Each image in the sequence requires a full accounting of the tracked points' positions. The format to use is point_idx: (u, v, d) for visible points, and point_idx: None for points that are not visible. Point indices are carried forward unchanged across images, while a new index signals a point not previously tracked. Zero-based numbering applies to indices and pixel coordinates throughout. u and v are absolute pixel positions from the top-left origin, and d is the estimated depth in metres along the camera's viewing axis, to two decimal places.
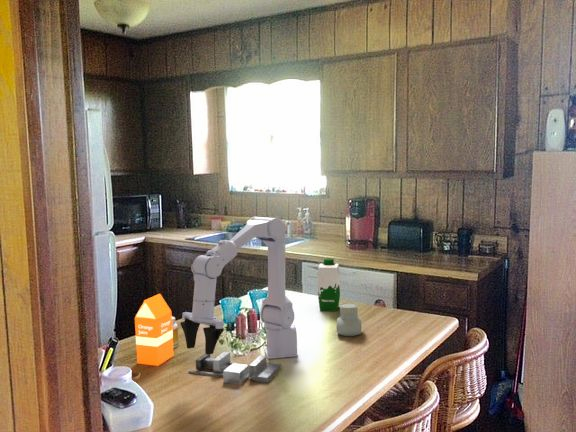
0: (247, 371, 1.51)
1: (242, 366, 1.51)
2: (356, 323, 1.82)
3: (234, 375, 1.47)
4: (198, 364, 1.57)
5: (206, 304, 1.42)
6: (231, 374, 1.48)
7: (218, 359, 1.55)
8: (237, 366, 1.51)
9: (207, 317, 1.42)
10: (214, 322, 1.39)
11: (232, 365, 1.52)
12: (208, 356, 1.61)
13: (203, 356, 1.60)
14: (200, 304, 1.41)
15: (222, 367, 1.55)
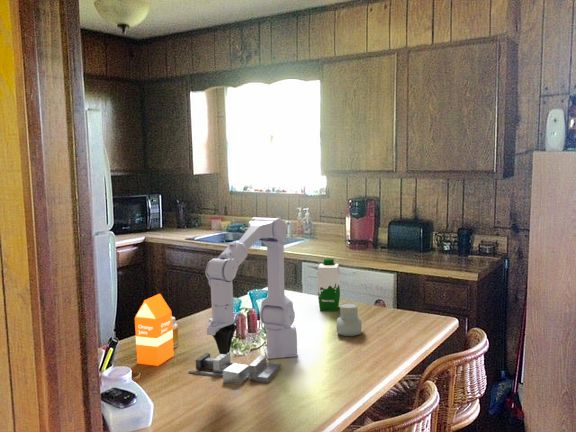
0: (247, 371, 1.51)
1: (242, 366, 1.51)
2: (356, 323, 1.82)
3: (233, 375, 1.47)
4: (198, 364, 1.57)
5: (213, 308, 1.40)
6: (231, 374, 1.48)
7: (218, 359, 1.55)
8: (237, 366, 1.51)
9: (215, 321, 1.40)
10: None
11: (233, 365, 1.52)
12: (208, 356, 1.61)
13: (203, 356, 1.60)
14: None
15: (222, 367, 1.55)
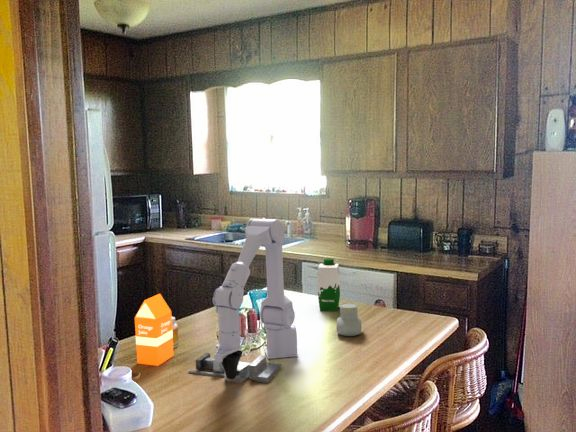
0: (248, 369, 1.52)
1: (244, 364, 1.52)
2: (356, 323, 1.82)
3: None
4: (198, 364, 1.57)
5: (220, 335, 1.44)
6: None
7: None
8: (239, 364, 1.52)
9: (222, 347, 1.44)
10: None
11: None
12: (208, 356, 1.61)
13: (203, 356, 1.60)
14: None
15: (222, 367, 1.55)
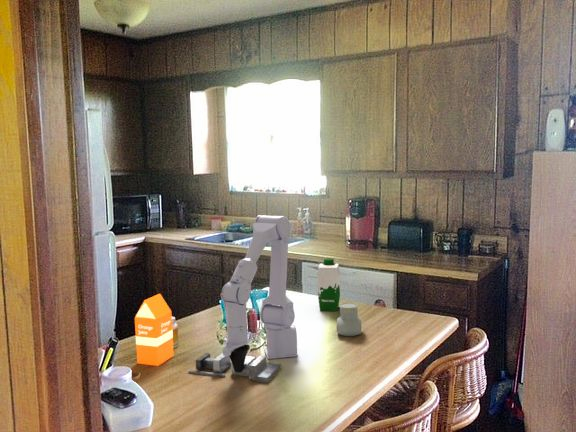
0: None
1: (249, 358, 1.57)
2: (356, 323, 1.82)
3: None
4: (198, 364, 1.57)
5: (228, 329, 1.49)
6: None
7: (218, 359, 1.55)
8: None
9: (230, 341, 1.49)
10: None
11: None
12: (208, 356, 1.61)
13: (203, 356, 1.60)
14: None
15: (222, 367, 1.55)
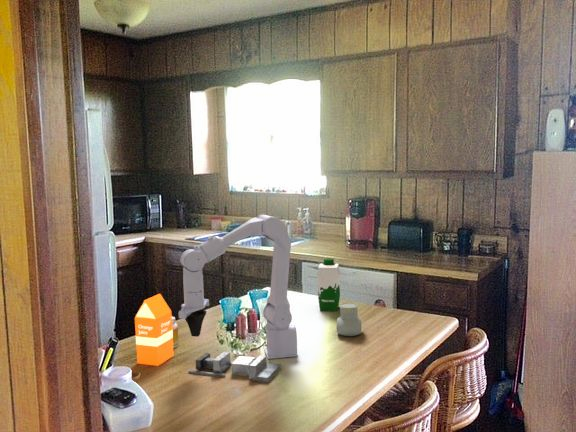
0: None
1: (249, 359, 1.57)
2: (356, 323, 1.82)
3: (243, 367, 1.53)
4: (198, 364, 1.57)
5: (185, 294, 1.55)
6: (240, 366, 1.53)
7: (218, 359, 1.55)
8: (244, 359, 1.57)
9: (187, 306, 1.55)
10: None
11: (239, 358, 1.58)
12: (208, 356, 1.61)
13: (203, 356, 1.60)
14: None
15: (222, 367, 1.55)
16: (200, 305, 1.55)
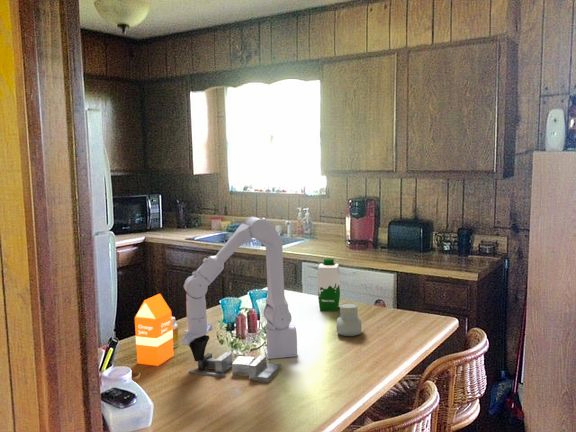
0: None
1: (249, 358, 1.57)
2: (356, 323, 1.82)
3: (243, 367, 1.53)
4: (200, 364, 1.57)
5: (188, 320, 1.57)
6: (240, 366, 1.53)
7: (220, 359, 1.54)
8: (244, 359, 1.57)
9: (190, 332, 1.57)
10: None
11: (239, 358, 1.57)
12: (210, 356, 1.61)
13: (205, 356, 1.59)
14: (187, 319, 1.58)
15: (224, 367, 1.55)
16: (203, 331, 1.57)
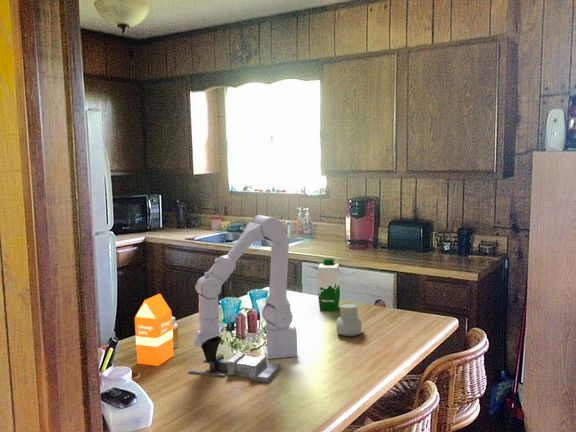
0: None
1: (253, 359, 1.56)
2: (356, 323, 1.82)
3: (246, 367, 1.52)
4: (212, 366, 1.55)
5: (201, 321, 1.56)
6: (243, 366, 1.52)
7: (232, 361, 1.53)
8: (248, 359, 1.56)
9: (202, 333, 1.55)
10: None
11: (243, 358, 1.57)
12: (221, 358, 1.60)
13: (217, 358, 1.58)
14: (199, 320, 1.57)
15: None
16: (215, 332, 1.56)
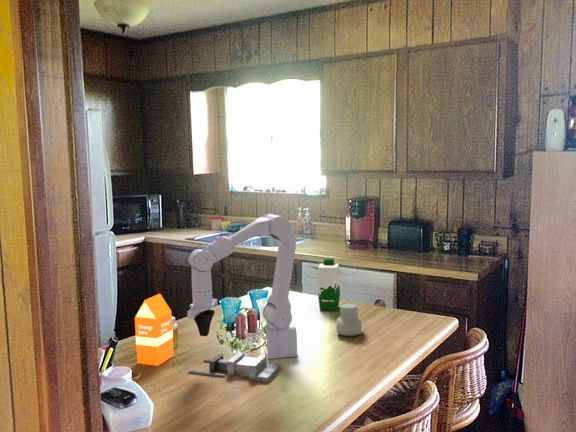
0: None
1: (253, 359, 1.56)
2: (356, 323, 1.82)
3: (246, 368, 1.52)
4: (211, 366, 1.55)
5: (194, 294, 1.55)
6: (243, 366, 1.52)
7: (232, 361, 1.53)
8: (248, 360, 1.56)
9: (195, 306, 1.55)
10: None
11: (243, 358, 1.57)
12: (221, 357, 1.60)
13: (216, 357, 1.58)
14: (192, 293, 1.57)
15: None
16: (208, 305, 1.56)
